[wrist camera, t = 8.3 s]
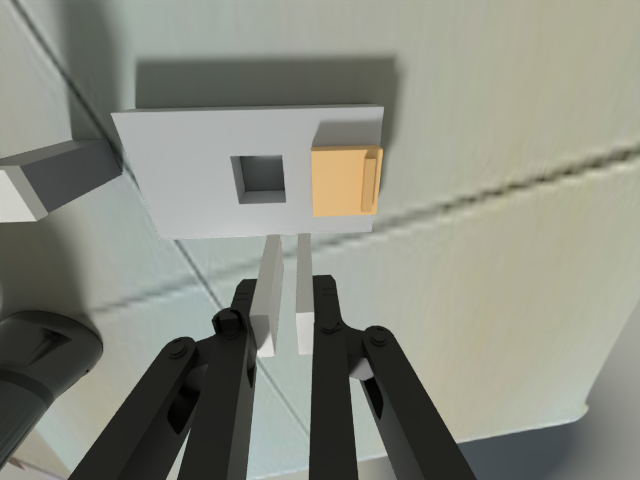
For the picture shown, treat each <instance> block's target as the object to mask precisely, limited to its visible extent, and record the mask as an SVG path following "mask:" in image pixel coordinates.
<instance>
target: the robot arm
mask: <svg viewBox="0 0 640 480" xmlns="http://www.w3.org/2000/svg"><path fill="white" fill-rule="evenodd" d="M283 271H284V267H283V258H282V249H281V240H280V234H273V235H267V240H266V244H265V248H264V253H263V257H262V262H261V266H260V270H259V275H258V279H243V280H242V281H241V282H240V283H239V285H238V286H237V288H236V291H235V295H234V297H233V301H232V304H231V307H229V308H225V309H223V310H221V311H219V312H218V313H217V314H216V315H215V316H214V317H213V319H212V323H213V326H214V329H215V333H216V334H215V335H213V336H211V337H209V338H206V339H203V340H200V341H197V342H195V341H194V340H193V339H192V338H190V337H179V338H177V339H174V340H172V341H171V342H169V343H168V344H167V345H166V346H165V347H164V348H163V349H162V350H161V352H160V353H159V354H158V356H157V357H156V358H155V360H154V361H153V363H152V364H151V365H150V367H149V368H148V369H147V371H146V372H145V374H144V375H143V376H142V378H141V379H140V380H139V382H138V383H137V385H136V386H135V387H134V389H133V390H132V391H131V393H130V394H129V396H128V397H127V398H126V400H125V401H124V403H123V404H122V405H121V407H120V408H119V409H118V411H117V412H116V414H115V415H114V416H113V418H112V419H111V420H110V422H109V423H108V425H107V426H106V427H105V429H104V430H103V431H102V433H101V434H100V436H99V437H98V438H97V440H96V441H95V442H94V444H93V445H92V447H91V448H90V449H89V451H88V452H87V453H86V455H85V456H84V458H83V459H82V460H81V462H80V463H79V464H78V466H77V467H76V469H75V470H74V471H73V473H72V474H71V475H70V477H69V478H68V480H166V478H167V476H168V474H169V472H170V470H171V468H172V466H173V464H174V461H175V459H176V457H177V455H178V453H179V451H180V449H181V447H182V445H183V443H184V441H185V439H186V437H187V434H188V432H189V430H190V433H189V437H188V441H187V444H186V448H185V452H184V456H183V459H182V463H181V467H180V470H179V474H178V478H177V480H246V475H247V464H248V454H249V443H250V433H251V423H252V412H253V402H254V391H255V381H256V371H257V366H256V361H255V359H256V353H258V357H271V356H275V350H276V340H277V330H278V320H279V310H280V301H281V291H282V281H283ZM296 323H297V334H298V346H299V355H305V354H313V363H312V394H311V425H310V456H309V480H358V469H357V458H356V447H355V436H354V425H353V415H352V404H351V393H350V382H349V377H352V378H356V379H359V380H360V383H361V385H362V388H363V391H364V393H365V396H366V399H367V401H368V404H369V406H370V409H371V412H372V414H373V417H374V420H375V422H376V425H377V428H378V430H379V433H380V436H381V438H382V441H383V443H384V446H385V449H386V451H387V454H388V457H389V459H390V462H391V464H392V467H393V470H394V473H395V475H396V478H397V480H477V479H476V477H475V475H474V473H473V472H472V470H471V468H470V467H469V465H468V463H467V461H466V460H465V458H464V456H463V454H462V453H461V451H460V449H459V448H458V446H457V444H456V442H455V441H454V439H453V437H452V435H451V434H450V432H449V430H448V428H447V427H446V425H445V423H444V422H443V420H442V418H441V416H440V415H439V413H438V411H437V409H436V408H435V406H434V404H433V403H432V401H431V399H430V397H429V396H428V394H427V392H426V390H425V389H424V387H423V385H422V383H421V382H420V380H419V378H418V377H417V375H416V373H415V371H414V370H413V368H412V366H411V364H410V363H409V361H408V359H407V358H406V356H405V354H404V352H403V351H402V349H401V347H400V345H399V344H398V342H397V340H396V338H395V337H394V335H393V334H392V333H391V331H390V330H388V329H386V328H385V327H382V326H371V327H368V328H367V329H366V330H365V331H361V330H357V329H354V328H351V327H349V326H347V325H346V324H345V323H344V321H343V320H342V318H341V313H340V307H339V300H338V295H337V288H336V282H335V280H334V279H333V277H332V276H331V275H316V276H312V258H311V237H310V233H298V254H297V285H296ZM102 353H103V349H102V345H101V343H100V341H99V339H98V338H97V337H96V336H95V335H94V334H93V333H92V332H91V331H90V330H89V329H87V328H86V327H84V326H83V325H81V324H79V323H77V322H75V321H73V320H71V319H69V318H66V317H63V316H60V315H56V314H52V313H47V312H40V311H25V312H19V313H15V314H12V315H10V316H8V317H7V318H6V319H4V320H3V321H2V322H1V323H0V471H1V470H2V468H3V467H4V466H5V464H6V463H7V462H8V461H9V459H10V458H11V457H12V455H13V454H14V453H15V451H16V450H17V449H18V447H19V446H20V445H21V444H22V442H23V441H24V440H25V438H26V437H27V436H28V434H29V433H30V432H31V430H32V429H33V428H34V427H35V425H36V424H37V423H38V421H39V420H40V419H41V417H42V416H43V415H44V414H45V412H46V411H47V409H48V408H49V407H50V406H51V404H52V403H53V402H54V401H55V399H56V398H57V397H59V396H60V395H61V394H62V393H64V392H65V391H66V390H67V389H69V388H70V387H71V386H72V385H73V384H75V383H76V382H77V381H78V380H79V379H80V378H81V377H83V376H84V375H86V374H87V373H89V372H90V371H91V370H92V369H93V367H94V366H95V365H96V363H97V362H98V361H99V359H100V358H101V356H102ZM190 428H191V429H190Z"/></svg>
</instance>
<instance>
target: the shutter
mask: <svg viewBox="0 0 640 480" xmlns="http://www.w3.org/2000/svg"><path fill="white" fill-rule="evenodd" d="M382 155H383V149H382V148H381V147H380V146H379V145H358V146H322V147H311V175H312V206H313V217H321V216H348V215H375V214H376V212H377V202H378V193H379V183H380V174H381V164H382Z"/></svg>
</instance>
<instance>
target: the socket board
mask: <svg viewBox="0 0 640 480" xmlns="http://www.w3.org/2000/svg"><path fill="white" fill-rule="evenodd" d="M383 112H384V107H383V106H380V105H377V104H334V105H289V106H243V107H197V108H151V109H130V110H125V111H119V112H113V113H111V116H112V118H113V121H114V123H115V126H116V129H117V131H118V134H119V136H120V139H121V141H122V144H123V147H124V149H125V152H126V154H127V157H128V159H129V162H130V165H131V167H132V170H133V172H134V175H135V178H136V180H137V183H138V185H139V188H140V190H141V193H142V196H143V198H144V201H145V203H146V206H147V208H148V211H149V214H150V216H151V219H152V221H153V224H154V226H155V229H156V232H157V234H158V237H159V239H160V240H172V239H197V238H222V237H248V236H267V235H273V234H280V235H298V233H310V234H323V233H348V232H372V222H373V215H348V216H321V217H313V206H312V175H311V147H322V146H358V145H379V146H380V142H381V132H382V122H383ZM261 155H282V159H283V171H284V182H285V190H279V191H250V192H246V191H245V185H244V179H243V173H242V168H241V162H240V156H261Z"/></svg>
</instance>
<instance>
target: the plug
mask: <svg viewBox="0 0 640 480" xmlns="http://www.w3.org/2000/svg"><path fill="white" fill-rule="evenodd" d="M120 175H122V173H121V171H120V168H119V166H118V163H117V161H116V158H115V156H114V154H113V151H112V149H111V146H110V144H109V141H108V139H101V140H70V141H66V142H62V143H59V144H55V145H51V146H47V147H43V148H40V149H36V150H32V151H28V152H24V153H21V154H17V155H13V156H9V157H5V158H2V159H0V222H28V221H38V220H40V219H42V218H44V217H45V216H47V215H49V214H48V213H49V212H51V211H53V210H55V209H57V208H59V207H61V206H63V205H65V204H66V203H68V202H70V201H72V200H74V199H76V198H78V197H80V196H82V195H84V194H85V193H87V192H89V191H91V190H93V189H95V188H97V187H99V186H101V185H103V184H105V183H106V182H108V181H110V180H112V179H114V178H116V177H118V176H120Z"/></svg>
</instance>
